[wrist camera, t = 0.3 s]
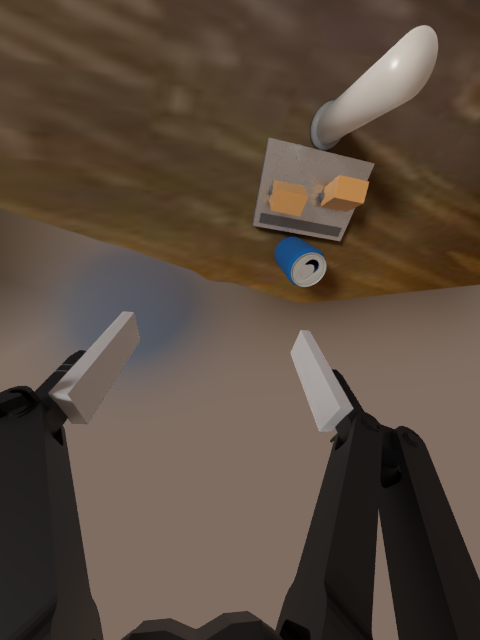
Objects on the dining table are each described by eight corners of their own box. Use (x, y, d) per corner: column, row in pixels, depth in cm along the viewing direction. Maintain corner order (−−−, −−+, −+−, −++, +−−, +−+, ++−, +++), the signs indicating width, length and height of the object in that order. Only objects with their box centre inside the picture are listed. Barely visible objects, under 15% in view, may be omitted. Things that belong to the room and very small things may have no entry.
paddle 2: (321, 188, 31) (337, 174, 27) (350, 194, 32) (371, 182, 27) (317, 207, 32) (332, 197, 27) (345, 213, 33) (365, 203, 28)
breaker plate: (266, 141, 29) (269, 136, 27) (367, 165, 31) (376, 163, 29) (251, 224, 35) (253, 225, 33) (335, 239, 38) (341, 241, 36)
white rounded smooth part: (317, 99, 26) (404, 0, 13) (349, 108, 27) (462, 23, 14) (305, 146, 29) (365, 105, 16) (334, 154, 30) (415, 119, 17)
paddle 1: (272, 178, 29) (275, 188, 27) (304, 185, 30) (310, 196, 27) (267, 198, 32) (269, 210, 29) (297, 204, 32) (301, 216, 30)
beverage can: (310, 249, 39) (337, 267, 29) (287, 272, 41) (305, 296, 31) (290, 228, 36) (312, 240, 26) (267, 254, 39) (280, 273, 29)
